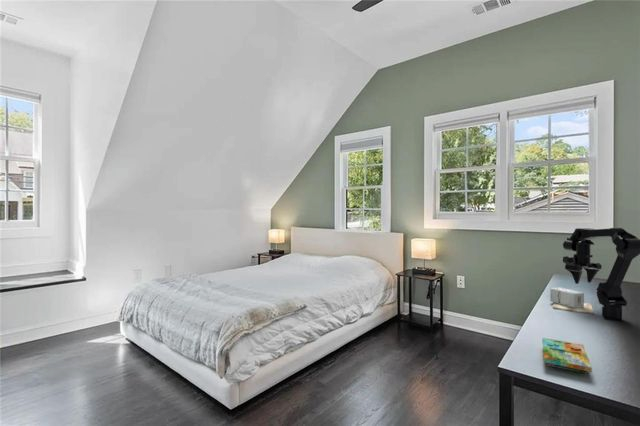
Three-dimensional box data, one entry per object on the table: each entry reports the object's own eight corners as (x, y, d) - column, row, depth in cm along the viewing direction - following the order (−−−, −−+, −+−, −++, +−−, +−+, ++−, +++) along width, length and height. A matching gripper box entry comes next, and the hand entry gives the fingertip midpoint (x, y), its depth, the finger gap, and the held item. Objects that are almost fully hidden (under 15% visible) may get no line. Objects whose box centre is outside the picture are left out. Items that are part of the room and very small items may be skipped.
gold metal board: (590, 305, 173) (590, 303, 173) (593, 314, 158) (593, 312, 158) (553, 300, 182) (553, 299, 182) (552, 308, 168) (552, 306, 168)
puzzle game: (583, 342, 114) (591, 364, 97) (583, 355, 114) (591, 380, 97) (542, 335, 120) (543, 355, 103) (542, 348, 120) (543, 370, 103)
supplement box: (573, 308, 165) (549, 301, 177) (584, 307, 167) (560, 300, 179) (573, 293, 165) (549, 288, 177) (584, 292, 167) (560, 287, 179)
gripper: (579, 250, 179) (578, 278, 179) (554, 251, 173) (554, 281, 173) (602, 252, 169) (602, 283, 169) (576, 254, 163) (576, 285, 163)
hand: (583, 283), depth 169 cm, fingers open, 9 cm apart
